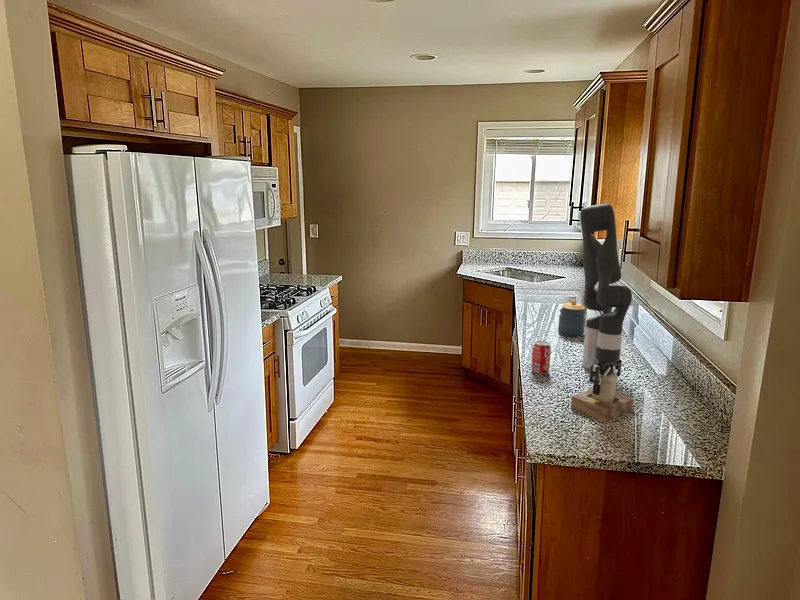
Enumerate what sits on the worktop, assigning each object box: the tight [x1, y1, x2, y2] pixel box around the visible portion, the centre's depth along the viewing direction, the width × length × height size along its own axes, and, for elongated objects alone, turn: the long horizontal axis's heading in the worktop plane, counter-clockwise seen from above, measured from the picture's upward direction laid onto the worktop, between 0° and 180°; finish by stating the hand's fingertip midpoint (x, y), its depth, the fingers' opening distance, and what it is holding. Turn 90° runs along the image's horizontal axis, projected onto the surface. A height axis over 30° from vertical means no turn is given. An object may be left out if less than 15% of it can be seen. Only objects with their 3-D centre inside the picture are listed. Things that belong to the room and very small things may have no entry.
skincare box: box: [591, 373, 618, 404], centre depth 180 cm, size 6×4×12 cm
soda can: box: [531, 340, 552, 375], centre depth 214 cm, size 7×7×12 cm
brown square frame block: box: [570, 388, 635, 422], centre depth 180 cm, size 16×13×4 cm
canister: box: [557, 299, 587, 337], centre depth 270 cm, size 13×13×18 cm
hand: (603, 391), depth 179 cm, fingers open, 8 cm apart
